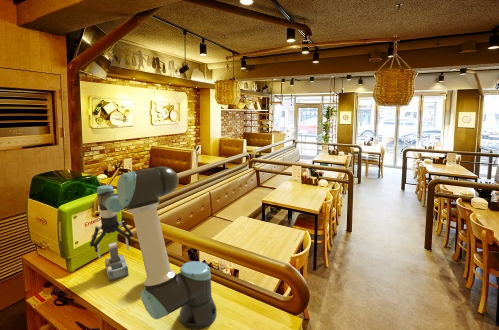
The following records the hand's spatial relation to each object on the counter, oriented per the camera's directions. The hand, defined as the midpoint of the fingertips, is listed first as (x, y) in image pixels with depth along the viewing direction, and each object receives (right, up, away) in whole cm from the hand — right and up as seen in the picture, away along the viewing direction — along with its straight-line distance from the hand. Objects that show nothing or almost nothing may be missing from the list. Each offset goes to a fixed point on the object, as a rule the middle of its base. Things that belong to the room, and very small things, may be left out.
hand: (114, 253), depth 149 cm
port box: (+2, -10, 0) cm, 10 cm away
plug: (0, -8, +2) cm, 8 cm away
